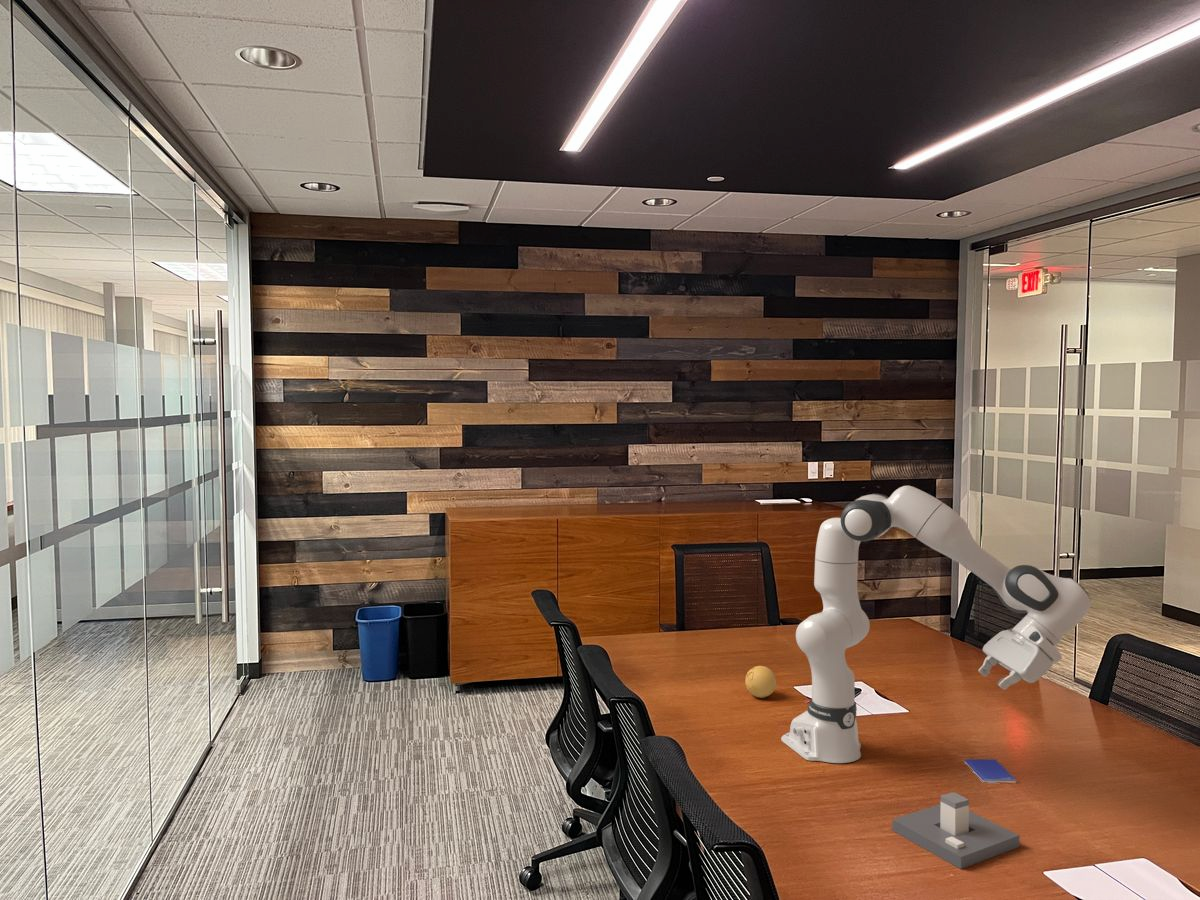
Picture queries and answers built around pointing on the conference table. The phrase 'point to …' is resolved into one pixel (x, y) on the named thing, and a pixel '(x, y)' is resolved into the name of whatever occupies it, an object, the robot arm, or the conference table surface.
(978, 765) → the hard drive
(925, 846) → the socket plate
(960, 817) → the plug
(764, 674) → the stress ball
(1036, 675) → the robot arm
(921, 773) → the conference table surface
